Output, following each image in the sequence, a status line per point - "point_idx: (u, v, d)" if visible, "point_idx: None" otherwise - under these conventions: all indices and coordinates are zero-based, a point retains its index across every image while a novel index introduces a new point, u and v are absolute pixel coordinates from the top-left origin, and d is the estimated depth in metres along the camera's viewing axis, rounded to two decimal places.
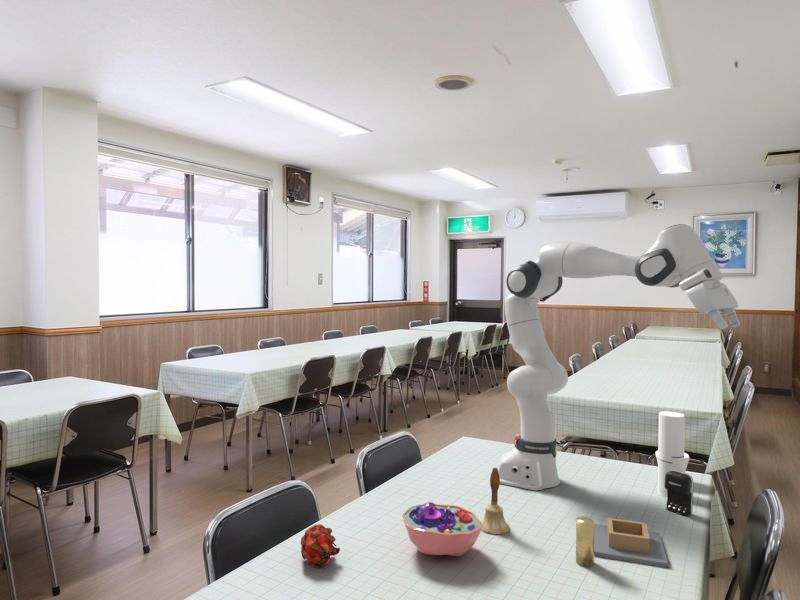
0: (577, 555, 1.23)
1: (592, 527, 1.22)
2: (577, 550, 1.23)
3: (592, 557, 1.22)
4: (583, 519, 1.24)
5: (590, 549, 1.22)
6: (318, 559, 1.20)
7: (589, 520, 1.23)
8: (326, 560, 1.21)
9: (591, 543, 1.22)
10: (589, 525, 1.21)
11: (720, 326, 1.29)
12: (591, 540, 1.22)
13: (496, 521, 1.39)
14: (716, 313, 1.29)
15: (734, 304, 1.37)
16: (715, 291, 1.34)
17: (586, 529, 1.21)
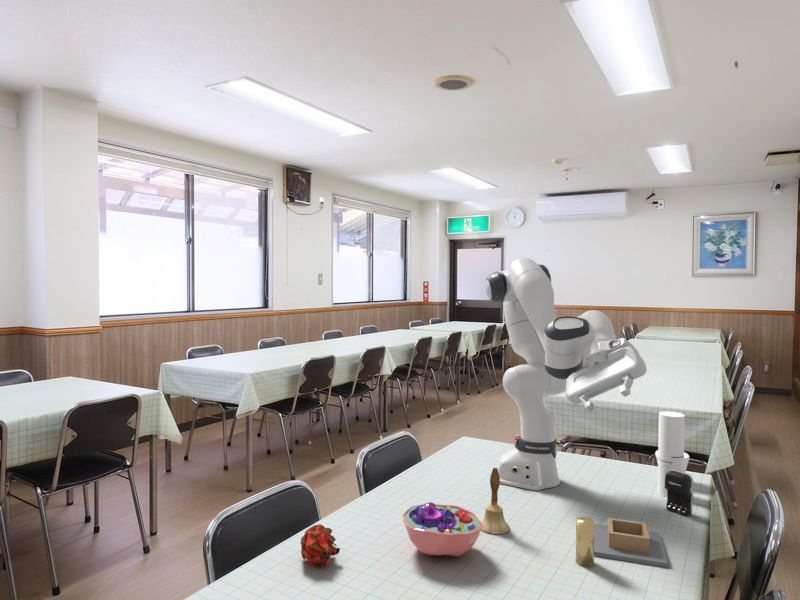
0: (577, 555, 1.23)
1: (592, 527, 1.22)
2: (577, 550, 1.23)
3: (592, 557, 1.22)
4: (583, 519, 1.24)
5: (590, 549, 1.22)
6: (318, 559, 1.20)
7: (589, 520, 1.23)
8: (326, 560, 1.21)
9: (591, 542, 1.22)
10: (589, 525, 1.21)
11: (627, 389, 1.21)
12: (591, 540, 1.22)
13: (496, 521, 1.39)
14: (632, 380, 1.23)
15: None
16: None
17: (586, 529, 1.21)
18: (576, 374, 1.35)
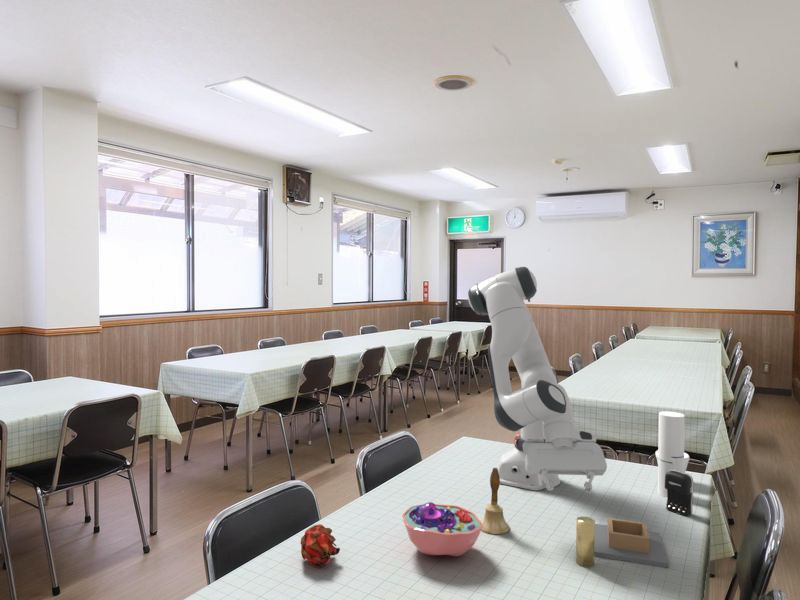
0: (577, 555, 1.23)
1: (592, 527, 1.22)
2: (578, 550, 1.23)
3: (592, 557, 1.22)
4: (583, 519, 1.24)
5: (590, 549, 1.22)
6: (318, 559, 1.20)
7: (589, 520, 1.23)
8: (326, 560, 1.21)
9: (592, 543, 1.22)
10: (589, 525, 1.21)
11: (591, 487, 1.33)
12: (591, 540, 1.22)
13: (496, 521, 1.39)
14: None
15: None
16: None
17: (586, 529, 1.21)
18: (539, 446, 1.39)
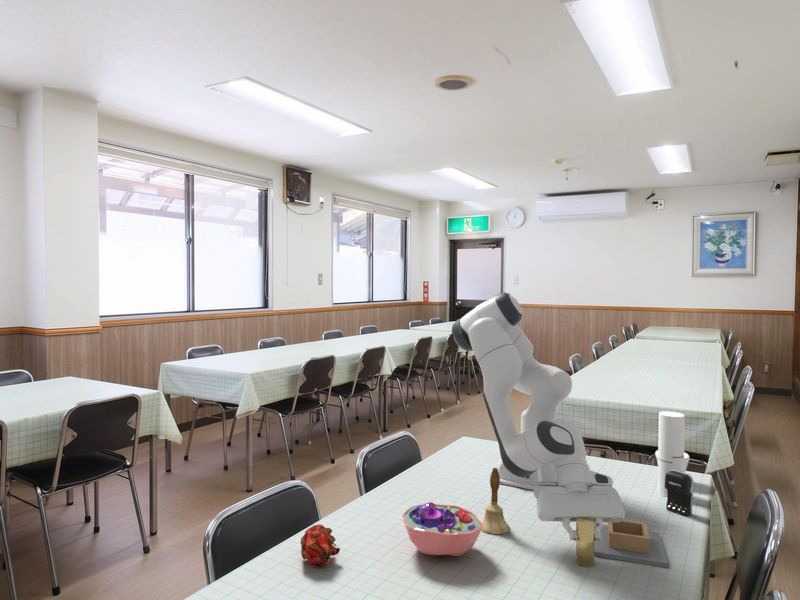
0: (577, 555, 1.23)
1: (592, 527, 1.22)
2: (578, 550, 1.23)
3: (592, 557, 1.22)
4: (583, 519, 1.24)
5: (590, 549, 1.22)
6: (318, 559, 1.20)
7: (589, 520, 1.23)
8: (326, 560, 1.21)
9: (591, 543, 1.22)
10: (589, 525, 1.21)
11: None
12: (591, 540, 1.22)
13: (496, 521, 1.39)
14: None
15: None
16: None
17: (586, 530, 1.21)
18: (552, 490, 1.29)
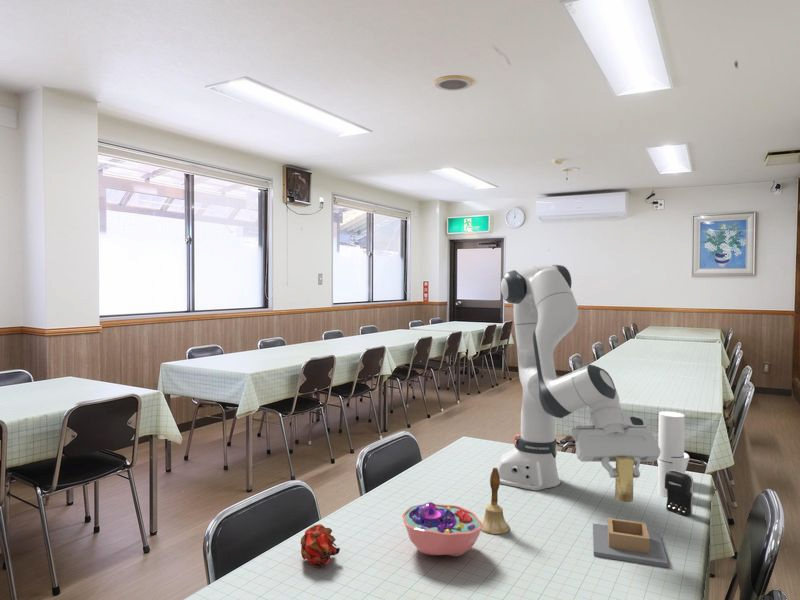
0: (617, 492, 1.29)
1: (632, 464, 1.27)
2: (618, 487, 1.28)
3: (632, 493, 1.28)
4: (622, 457, 1.29)
5: (630, 485, 1.27)
6: (318, 559, 1.20)
7: (628, 458, 1.29)
8: (326, 560, 1.21)
9: (631, 479, 1.27)
10: (630, 462, 1.27)
11: None
12: (631, 476, 1.27)
13: (496, 521, 1.39)
14: None
15: None
16: None
17: (626, 466, 1.27)
18: (590, 432, 1.35)
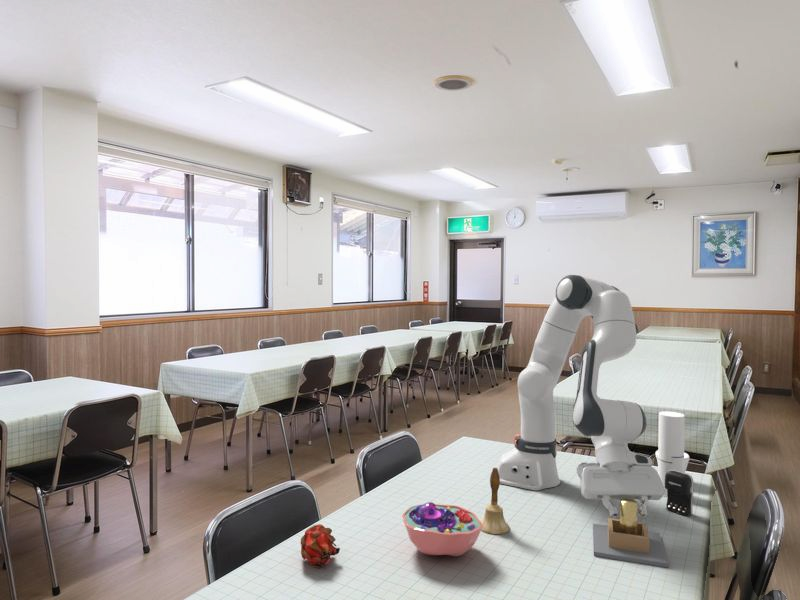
0: None
1: (636, 507, 1.30)
2: (621, 529, 1.31)
3: None
4: (627, 500, 1.32)
5: (634, 528, 1.30)
6: (318, 559, 1.20)
7: (632, 501, 1.32)
8: (326, 560, 1.21)
9: (635, 522, 1.30)
10: (633, 505, 1.30)
11: None
12: (635, 519, 1.30)
13: (496, 521, 1.39)
14: None
15: None
16: None
17: (630, 509, 1.30)
18: (595, 470, 1.37)
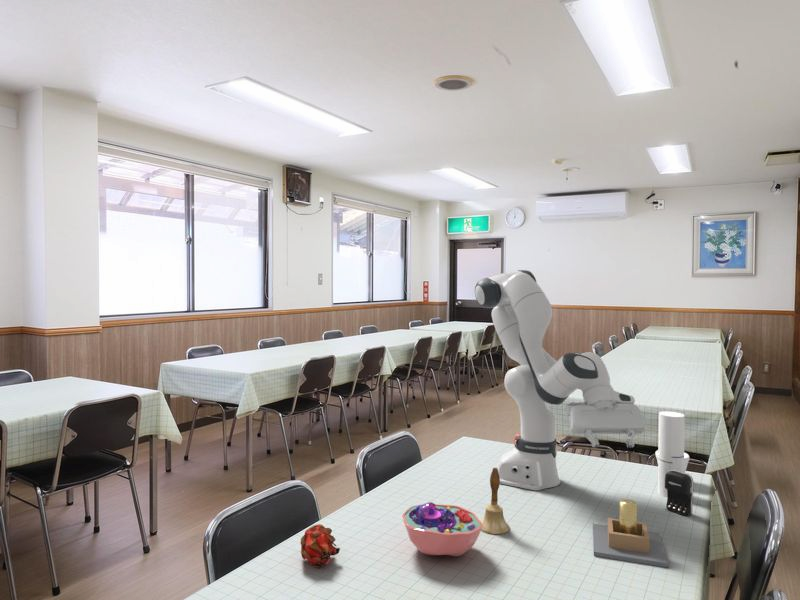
0: None
1: (635, 508, 1.30)
2: (621, 530, 1.31)
3: None
4: (626, 501, 1.32)
5: (633, 529, 1.30)
6: (318, 559, 1.20)
7: (632, 502, 1.31)
8: (326, 560, 1.21)
9: (635, 523, 1.30)
10: (633, 506, 1.29)
11: None
12: (634, 520, 1.30)
13: (496, 521, 1.39)
14: None
15: None
16: None
17: (630, 511, 1.29)
18: (582, 408, 1.50)
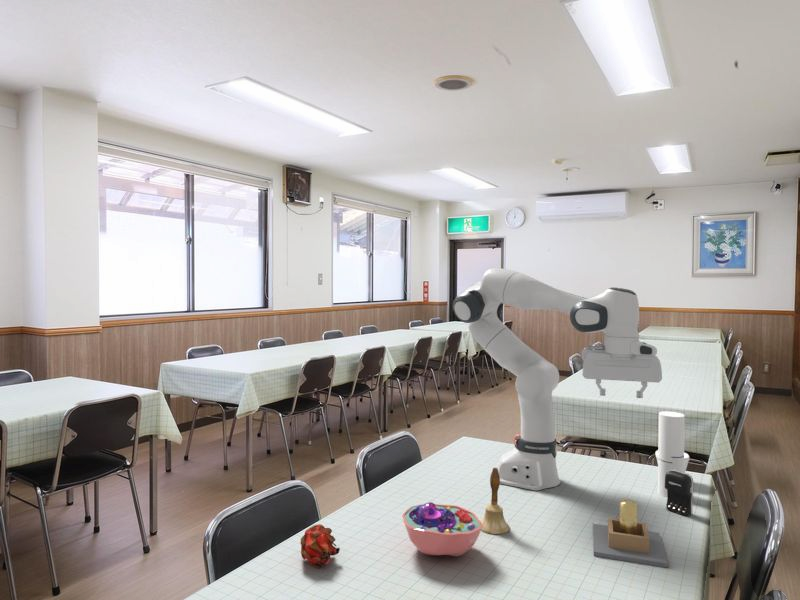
0: None
1: (636, 508, 1.30)
2: (621, 530, 1.31)
3: None
4: (626, 501, 1.32)
5: (634, 529, 1.30)
6: (318, 559, 1.20)
7: (632, 502, 1.31)
8: (326, 560, 1.21)
9: (635, 523, 1.30)
10: (633, 506, 1.29)
11: (642, 395, 1.44)
12: (635, 520, 1.30)
13: (496, 521, 1.39)
14: None
15: None
16: None
17: (630, 510, 1.29)
18: (597, 357, 1.46)
